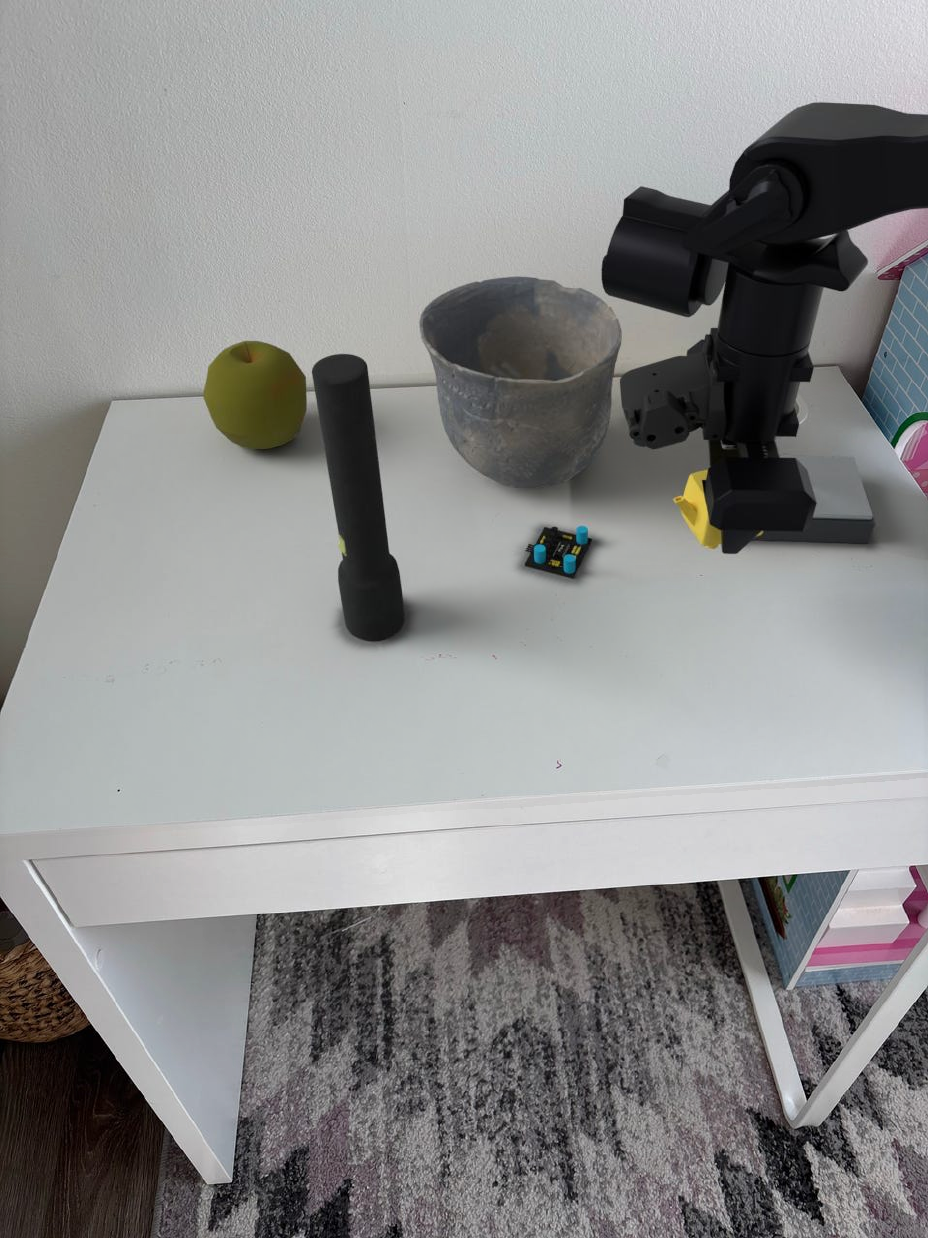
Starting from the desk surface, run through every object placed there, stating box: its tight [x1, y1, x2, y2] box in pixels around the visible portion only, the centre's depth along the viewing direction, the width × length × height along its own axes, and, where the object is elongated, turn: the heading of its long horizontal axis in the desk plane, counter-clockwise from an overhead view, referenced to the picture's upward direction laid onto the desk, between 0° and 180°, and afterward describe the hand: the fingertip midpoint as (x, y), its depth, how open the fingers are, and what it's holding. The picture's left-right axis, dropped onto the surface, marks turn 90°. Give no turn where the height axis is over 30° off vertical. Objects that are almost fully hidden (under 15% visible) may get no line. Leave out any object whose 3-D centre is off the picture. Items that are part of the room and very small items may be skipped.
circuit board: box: [524, 525, 593, 580], centre depth 85 cm, size 5×2×5 cm
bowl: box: [418, 275, 623, 489], centre depth 89 cm, size 18×18×15 cm
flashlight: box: [311, 353, 406, 642], centre depth 72 cm, size 5×24×5 cm
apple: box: [202, 340, 308, 450], centre depth 95 cm, size 10×10×11 cm
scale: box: [752, 454, 876, 544], centre depth 88 cm, size 11×9×3 cm
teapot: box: [672, 469, 763, 550], centre depth 70 cm, size 8×6×5 cm
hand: (724, 523), depth 71 cm, fingers closed on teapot, 6 cm apart
